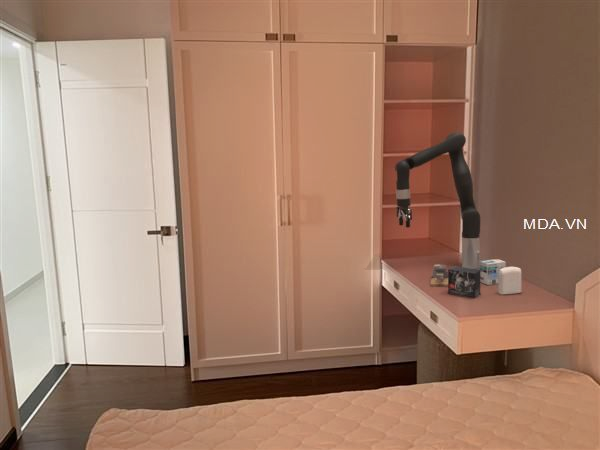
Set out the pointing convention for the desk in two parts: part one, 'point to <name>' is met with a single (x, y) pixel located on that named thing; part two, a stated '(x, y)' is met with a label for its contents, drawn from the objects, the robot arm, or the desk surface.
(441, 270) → the knob
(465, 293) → the small box
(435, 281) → the shaft base
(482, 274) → the light bulb box
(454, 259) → the desk surface
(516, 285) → the photo printer
